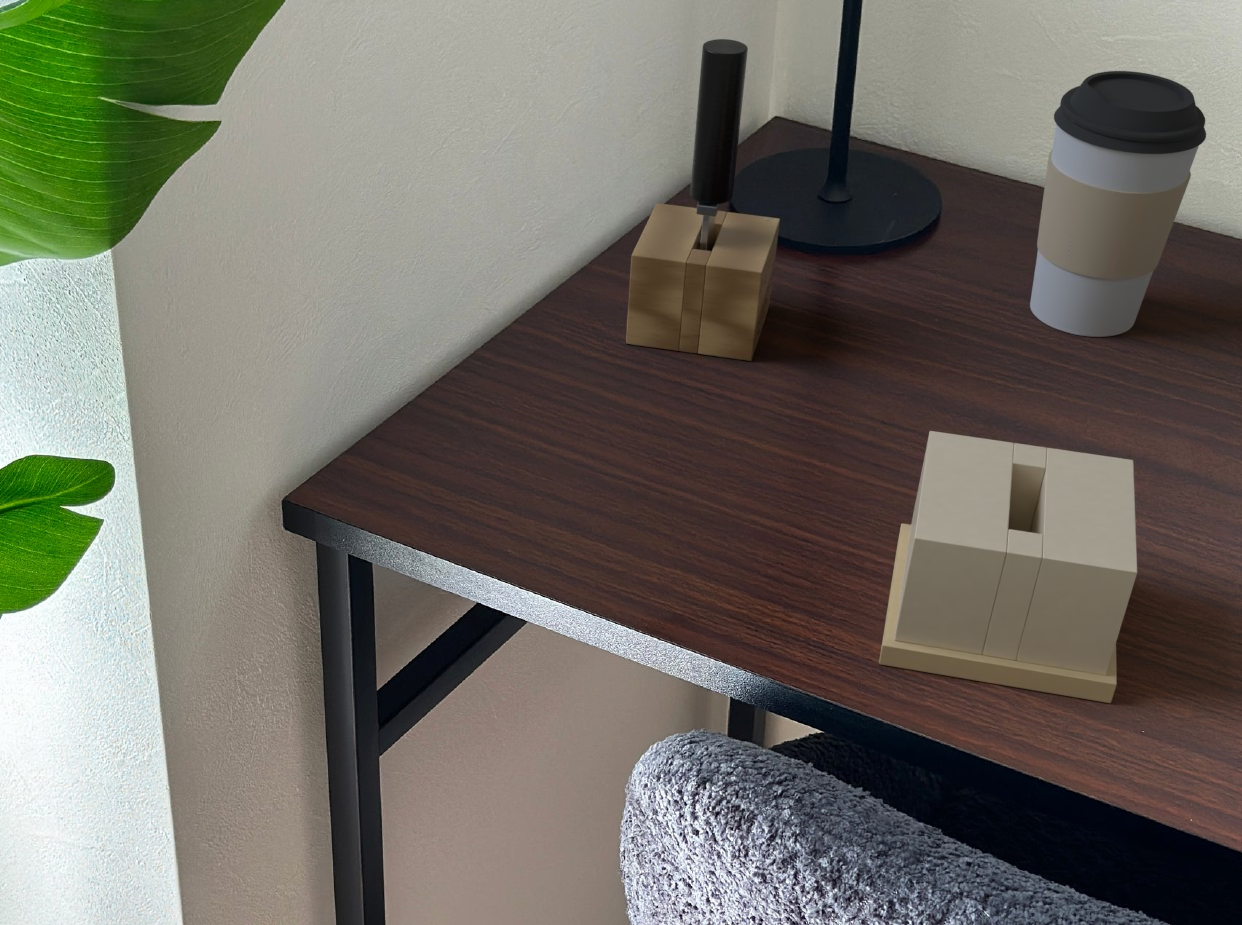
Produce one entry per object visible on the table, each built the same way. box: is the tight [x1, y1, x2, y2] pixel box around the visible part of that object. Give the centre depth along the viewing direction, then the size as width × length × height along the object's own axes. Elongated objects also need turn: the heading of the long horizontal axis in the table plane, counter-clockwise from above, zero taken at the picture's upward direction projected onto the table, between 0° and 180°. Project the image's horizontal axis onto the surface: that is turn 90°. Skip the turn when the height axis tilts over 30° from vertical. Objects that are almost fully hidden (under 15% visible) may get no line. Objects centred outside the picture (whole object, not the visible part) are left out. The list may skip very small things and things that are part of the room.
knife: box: [689, 38, 749, 252], centre depth 105 cm, size 3×3×18 cm
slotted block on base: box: [878, 430, 1138, 704], centre depth 84 cm, size 11×11×7 cm
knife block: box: [625, 202, 781, 362], centre depth 108 cm, size 8×8×6 cm
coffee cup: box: [1029, 70, 1207, 338], centre depth 108 cm, size 9×9×15 cm
